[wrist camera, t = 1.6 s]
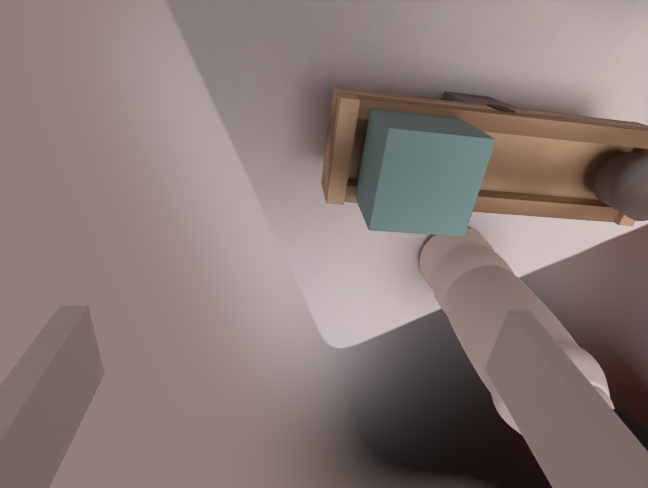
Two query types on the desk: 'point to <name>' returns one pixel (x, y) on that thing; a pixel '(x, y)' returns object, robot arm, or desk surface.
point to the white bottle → (491, 305)
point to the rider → (421, 172)
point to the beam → (512, 156)
